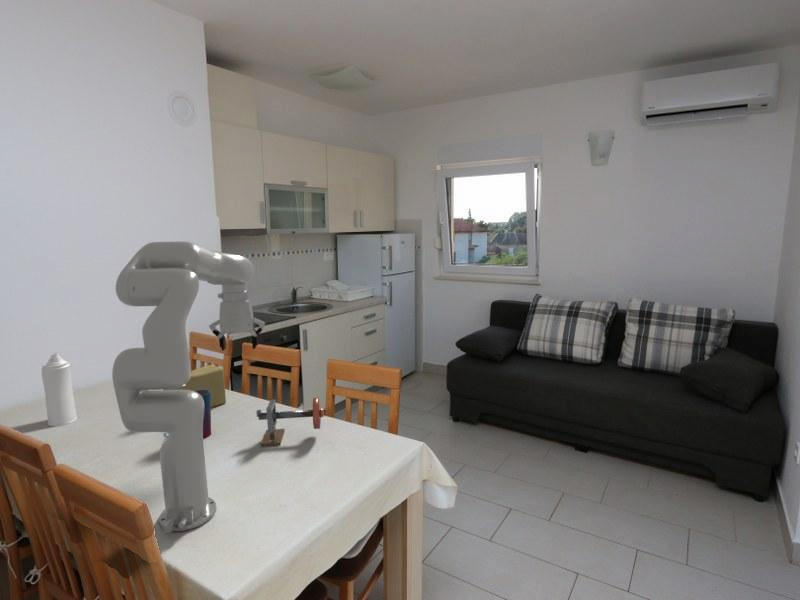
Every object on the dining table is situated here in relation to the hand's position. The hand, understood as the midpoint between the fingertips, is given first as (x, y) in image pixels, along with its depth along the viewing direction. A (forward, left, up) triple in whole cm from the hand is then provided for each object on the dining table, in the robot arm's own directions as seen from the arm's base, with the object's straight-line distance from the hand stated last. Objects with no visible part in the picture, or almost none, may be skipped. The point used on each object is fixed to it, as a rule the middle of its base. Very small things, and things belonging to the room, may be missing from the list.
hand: (239, 348), depth 152 cm
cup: (+1, +14, -30) cm, 33 cm away
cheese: (+24, +24, -30) cm, 45 cm away
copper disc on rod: (-5, -16, -27) cm, 31 cm away
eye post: (-5, -10, -30) cm, 32 cm away
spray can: (+22, +70, -30) cm, 79 cm away
